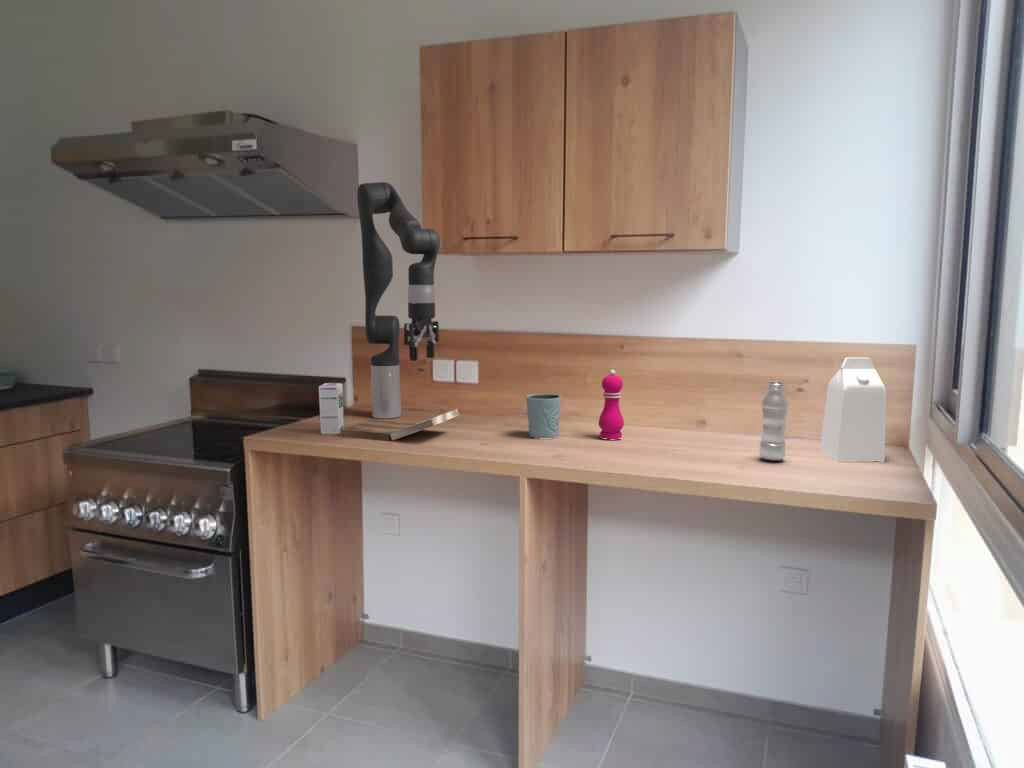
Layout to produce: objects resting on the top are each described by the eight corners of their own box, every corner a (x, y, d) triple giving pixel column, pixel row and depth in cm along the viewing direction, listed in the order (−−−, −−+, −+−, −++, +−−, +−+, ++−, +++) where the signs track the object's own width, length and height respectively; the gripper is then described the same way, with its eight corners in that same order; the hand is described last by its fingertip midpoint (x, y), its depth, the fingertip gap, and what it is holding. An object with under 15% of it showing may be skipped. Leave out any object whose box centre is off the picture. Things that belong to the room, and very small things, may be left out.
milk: (864, 451, 203) (871, 355, 199) (884, 462, 191) (892, 360, 188) (819, 451, 203) (825, 355, 199) (836, 461, 192) (843, 360, 188)
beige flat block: (420, 429, 228) (418, 423, 228) (459, 415, 223) (457, 408, 223) (392, 440, 213) (389, 433, 213) (433, 425, 207) (431, 418, 207)
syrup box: (339, 434, 221) (338, 385, 219) (319, 434, 221) (318, 385, 219) (344, 430, 227) (343, 382, 225) (325, 430, 227) (323, 382, 225)
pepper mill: (604, 441, 213) (606, 371, 210) (594, 436, 220) (595, 368, 217) (627, 440, 216) (629, 370, 213) (616, 435, 222) (618, 367, 219)
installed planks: (371, 425, 234) (371, 419, 234) (417, 429, 229) (417, 422, 228) (340, 436, 219) (340, 429, 218) (389, 440, 213) (388, 433, 213)
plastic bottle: (754, 460, 192) (758, 382, 190) (765, 455, 197) (769, 380, 194) (778, 464, 188) (783, 385, 185) (789, 460, 193) (794, 382, 190)
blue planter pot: (566, 438, 217) (567, 397, 216) (535, 441, 213) (535, 399, 211) (550, 431, 227) (550, 392, 225) (519, 434, 222) (520, 394, 220)
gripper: (424, 300, 218) (424, 356, 220) (395, 301, 205) (396, 360, 208) (446, 301, 215) (446, 357, 217) (418, 302, 202) (419, 362, 204)
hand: (422, 359), depth 212 cm, fingers open, 8 cm apart
